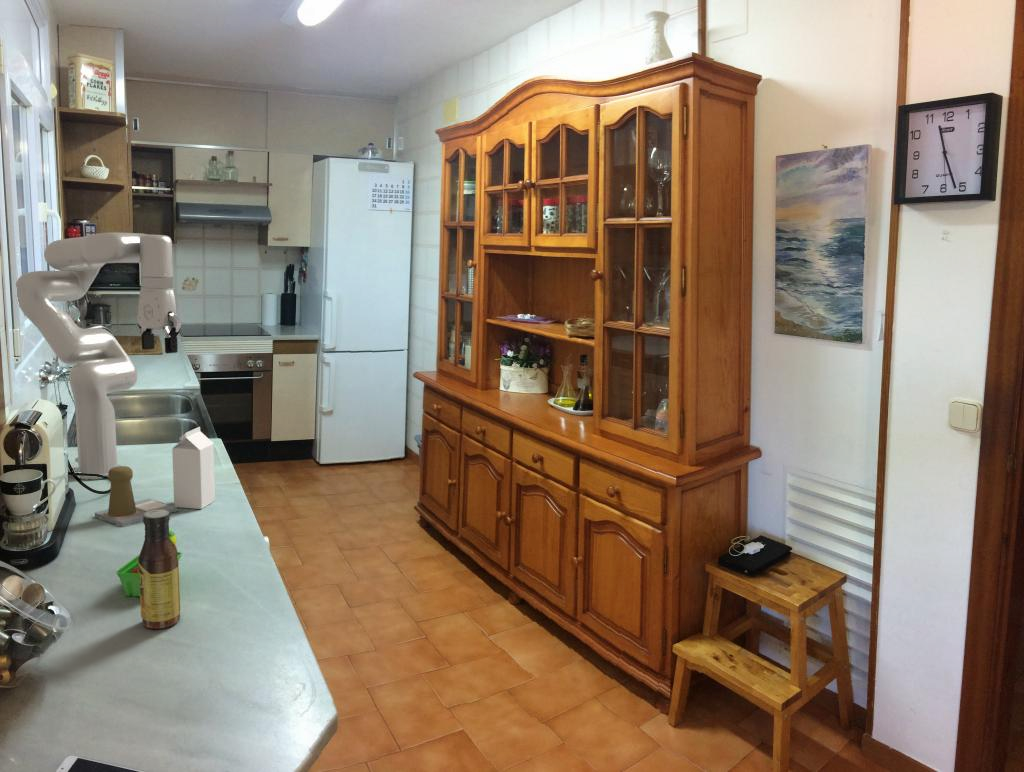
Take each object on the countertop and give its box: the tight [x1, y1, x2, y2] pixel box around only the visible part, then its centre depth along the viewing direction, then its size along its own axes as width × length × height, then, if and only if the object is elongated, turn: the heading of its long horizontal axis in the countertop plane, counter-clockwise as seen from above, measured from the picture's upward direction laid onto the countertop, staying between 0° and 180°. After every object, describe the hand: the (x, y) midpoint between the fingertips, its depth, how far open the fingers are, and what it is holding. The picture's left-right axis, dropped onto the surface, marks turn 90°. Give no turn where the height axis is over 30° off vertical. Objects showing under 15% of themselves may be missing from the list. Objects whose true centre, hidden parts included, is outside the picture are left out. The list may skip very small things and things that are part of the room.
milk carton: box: [171, 426, 216, 510], centre depth 198 cm, size 7×7×19 cm
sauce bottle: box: [138, 510, 182, 630], centre depth 136 cm, size 6×6×20 cm
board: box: [94, 498, 178, 527], centre depth 191 cm, size 11×14×1 cm
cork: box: [107, 465, 136, 517], centre depth 187 cm, size 6×6×11 cm
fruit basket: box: [116, 529, 183, 597], centre depth 151 cm, size 11×9×11 cm
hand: (159, 350), depth 206 cm, fingers open, 9 cm apart
